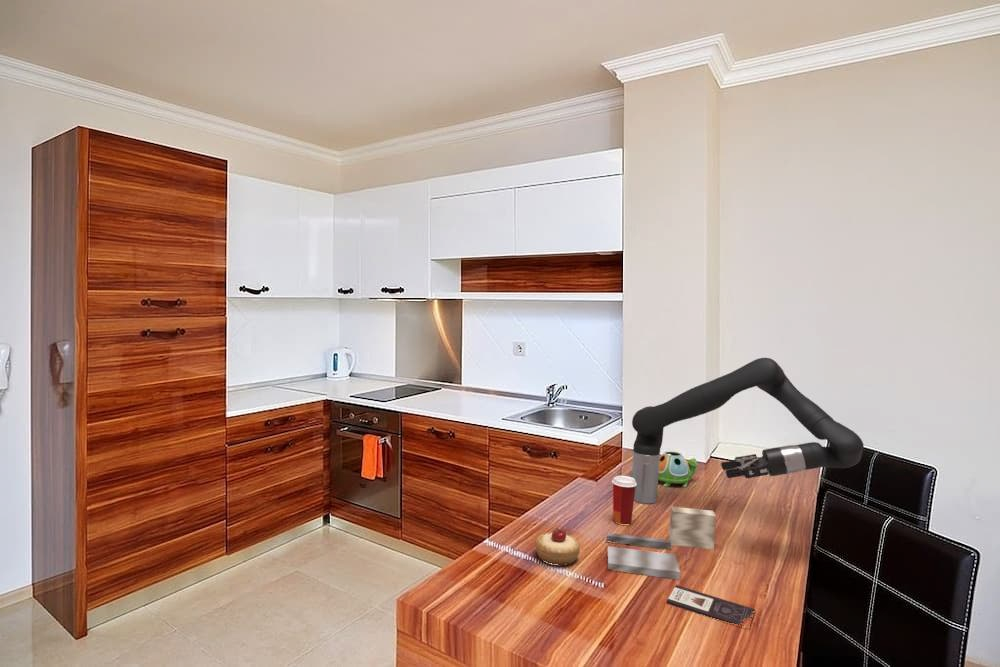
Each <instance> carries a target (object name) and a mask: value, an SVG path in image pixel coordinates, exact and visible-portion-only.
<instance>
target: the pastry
mask: <svg viewBox="0 0 1000 667" xmlns="http://www.w3.org/2000/svg"><path fill="white" fill-rule="evenodd" d="M580 548H581V545H580V542H579V540H578V539H576V537H575V536H572V535H571V534H567V532H566V531H565V530H564V529H560V528H557V527H556V528H553V529H552V530H551V531H550V532H548V531H547V532H545V533H541V534H540V535H538V536H537V537H536V540H535V550H536V553H537V555H538V558H541V559H542V560H544V561H546V562H548V563H552V564H558V565H565V564H570V563H572V562H573V563H574V562H575V561H576V560H577V558H578V557H579V554H580V550H581V549H580ZM541 559H540V560H541ZM542 560H541V561H542ZM573 563H572V564H573ZM570 565H571V564H570Z"/></svg>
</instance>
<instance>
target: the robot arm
mask: <svg viewBox="0 0 1000 667" xmlns="http://www.w3.org/2000/svg"><path fill="white" fill-rule="evenodd" d="M755 387H757V388H758V389H760V390H761V391H763V392H765V393H766V394H768V395H770V396H771V397H772V398H774V399H776V400H777V401H778V402H779V403H781V404H782V405H783V406H784V407H785V408H786V409H787V410H788V411H789V412H790V413H791V414H792V416H793V417H794V418H795V419H796V420H797V421H798V422H799V423H800V424H801V425H802V426H803V427H804V428H805V429H806V430H807V431H809V432H810V433H811V435H813V436H814V437H815V438H816V439H818V440H821V441H824V440H826V441H828V442H829V443H830V444H831V446H822V444H821V443H819V442H816V441H815V442H813V441H812V442H805V443H799V444H792V445H783V446H778V447H777V446H776V447H772V448H765V449H763V450H762V451H761V455H762V456H758V457H757V454H755V453H753V454H748V455H742V456H736V457H735V458H734V459H733V460H728V461H722V462H721V463H720V464H721V469H722V470H723V471H725V475H726V477H727V479H733V478H739V477H742V478H745V479H752V478H758V477H763V476H770V477H776V476H781V475H782V476H783V475H788V474H794V473H800V472H802V471H808V470H812V469H819V468H828V469H831V468H832V469H846V468H848V469H849V468H851V467H854V466H856V465H857V464H859V463H860V461H861V460H862V456H863V452H864V451H863V450H864V449H865V448H864V446H865V445H864V442H863V439H861V437H860V436H859V435H858V433H856V432H855V431H854V430H852V429H851V428H848V427H847V426H845V425H843V423H840V422H839V421H838V422H837V421H836V420H834V419H833V417H832V416H830V415H829V414H828V413H827V412H826V411H825V410H824V409H823V408H821V406H819V405H818V404H817V403H815V402H814V401H812V400H811V399H810V398H808V397H807V396H806V395H804V394H803V393H802V392H801V391H800V390H798V388H796V386H795V385H794V384H793V383H792V382H791V381H790V378H788V376H787V375H786V374H785V372H784V370H783V369H782V367H781V366H780V365H779V364H778V362H776V361H775V360H774V359H772V358H770V357H760V358H755V360H752V361H750V362H748V363H746V364H744V365H742V366H741V367H739V368H736V369H735V370H733V371H731V372H729V373H727V374H723V375H721V376H719V377H717V378H714V379H712V380H709V381H708V382H704V383H702V384H699V385H697V386H694V387H692V388H690V389H687V390H686V391H683V392H682V393H680V394H678V395H676V396H675V397H672V398H671V399H670V400H668V401H666V402H664V403H659V404H658V405H655V406H652V405H650V406H645V407H643V408H641V409H638V410H637V411H636V412H635V413H634V415H633V416H632V420H631V424H632V428H633V430H634V431H635V432H637V433H636V437H635V440H634V442H633V450H632V468H631V470H630V471H629V475H628V477H632V478H634V479H635V480H636V483H637V485H636V488H635V497H634V502H637V503H639V504H640V503H641V504H647V505H648V504H649V505H650V504H655V503H657V501H658V489H659V480H658V476H659V460H660V456H661V449H662V448H661V447H662V445H663V439H664V438H663V437H664V429H665V427H668V426H670V425H672V424H674V423H677V422H681V421H684V420H688V419H693V418H695V417H698V416H699V417H700V416H702V415H704V414H707V413H710V412H712V411H715V410H717V409H719V408H721V407H722V406H724V405H725V404H726V403H727V402H729V400H731V399H732V398H733V397H734V396H735V395H737V394H739V393H741V392H743V391H745V390H748V389H751V388H755Z"/></svg>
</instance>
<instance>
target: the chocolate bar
mask: <svg viewBox="0 0 1000 667" xmlns="http://www.w3.org/2000/svg"><path fill="white" fill-rule="evenodd" d="M666 604H667V605H671V606H674V607H677V608H680V609H683V610H686V611H690V612H691V611H692V613H694V612H695V613H694V614H698V615H701V614H702V615H701V616H704V615H705V616H704V617H707V616H708V617H707V618H710V617H712V618H711V619H713V618H715V619H714V620H716V619H719V620H722V621H726V622H729V623H734V624H738V625H739V624H740V623H744V622H743V621H741V620H743V619H745V618H748V617H749V618H752V617H750V616H751V615H752V614H754V615H755V613H752V612H753V611H755V612H756V608H752V607H750V606H746V605H742V604H739V603H736V602H732V601H730V600H726V599H723V598H720V597H716V596H713V595H710V594H707V593H704V592H700V591H697V590H694V589H690V588H688V587H683V586H681V585H678V584H676V585H675V586H674V588H673V590H672V592H671V593H670V595H669V596H668V598H667V600H666ZM719 620H718V621H719ZM722 621H721V622H722ZM740 625H741V624H740ZM741 626H742V625H741Z"/></svg>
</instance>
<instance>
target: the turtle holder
mask: <svg viewBox="0 0 1000 667" xmlns="http://www.w3.org/2000/svg"><path fill="white" fill-rule="evenodd" d="M697 468H699V463H698V461H697V459H696V458H690V459H689V460H688V461H687V459H686V458H685V456H683V454H682V453H680V452H678V451H671V450H669V451H663V453H662V454H660V460H659V476H658V481H660V482H664V484H663V485H662V487H664V488H667V487H670V486H671V484H681V485H682V486H681V487H682V488H683V489H684V488H687V486H688V482H689V481H690V479H692V477H693V476H694V474H695V473H696V469H697Z"/></svg>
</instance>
